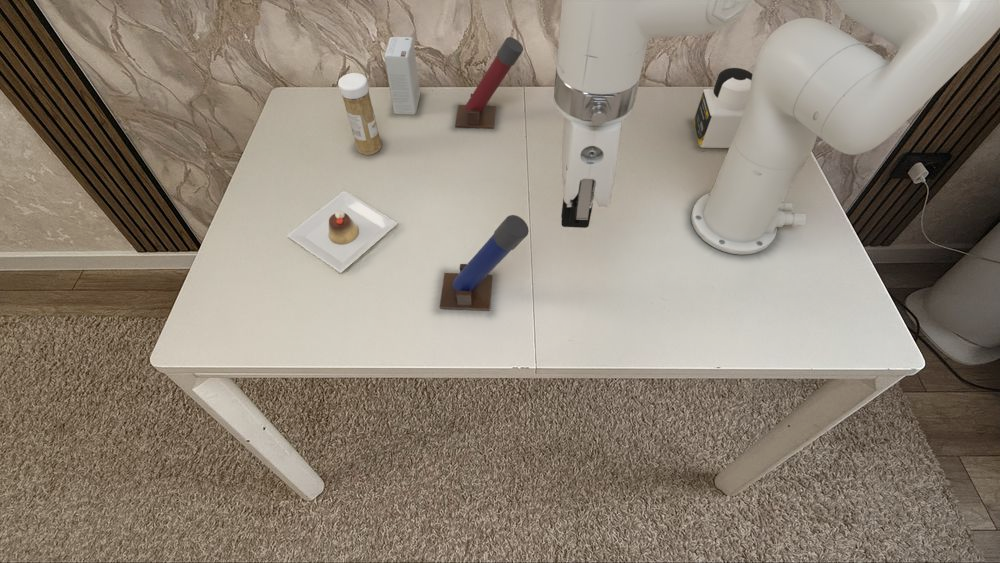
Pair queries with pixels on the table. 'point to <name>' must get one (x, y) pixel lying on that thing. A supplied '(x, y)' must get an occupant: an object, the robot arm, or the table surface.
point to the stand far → (475, 117)
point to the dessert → (342, 230)
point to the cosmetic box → (402, 75)
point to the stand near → (466, 294)
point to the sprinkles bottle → (360, 112)
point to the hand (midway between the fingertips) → (574, 222)
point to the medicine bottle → (722, 108)
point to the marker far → (495, 74)
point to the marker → (492, 253)
